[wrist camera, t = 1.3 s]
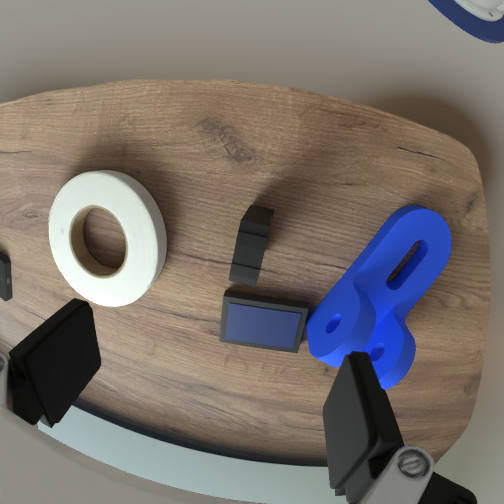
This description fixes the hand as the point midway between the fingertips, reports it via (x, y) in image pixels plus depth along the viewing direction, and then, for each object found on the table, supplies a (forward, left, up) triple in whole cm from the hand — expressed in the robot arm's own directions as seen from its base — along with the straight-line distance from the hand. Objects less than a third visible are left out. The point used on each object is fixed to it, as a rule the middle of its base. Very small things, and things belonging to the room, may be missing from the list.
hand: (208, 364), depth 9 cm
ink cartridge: (0, 0, -20) cm, 21 cm away
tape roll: (+17, +3, -20) cm, 27 cm away
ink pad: (-2, +10, -20) cm, 23 cm away
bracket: (-15, +3, -20) cm, 25 cm away
